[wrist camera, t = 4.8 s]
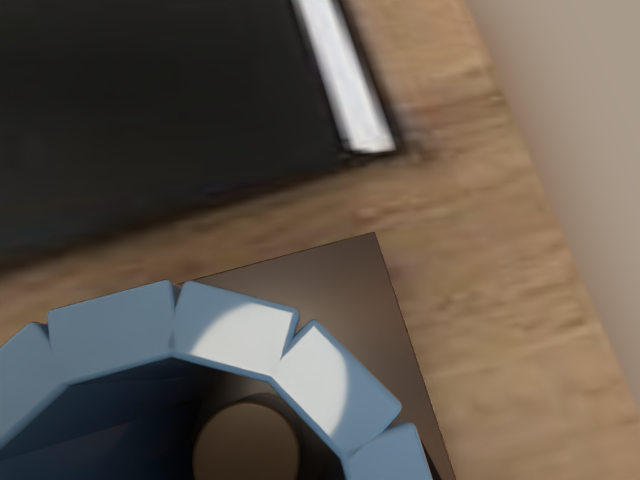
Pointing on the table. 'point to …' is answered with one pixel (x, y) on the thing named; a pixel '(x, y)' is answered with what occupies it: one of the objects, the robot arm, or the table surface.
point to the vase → (184, 387)
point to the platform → (348, 327)
